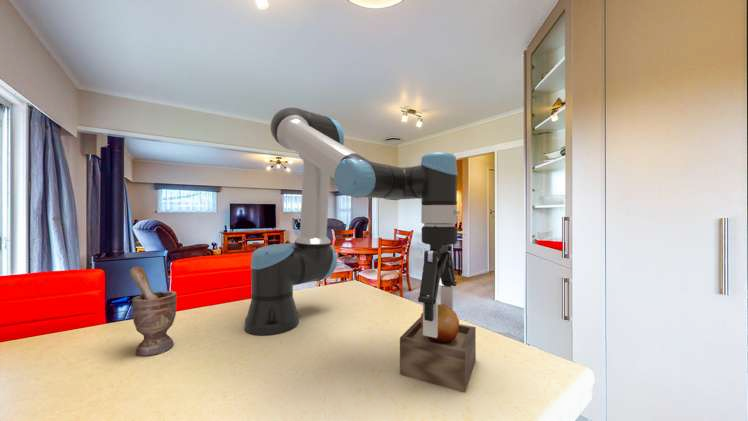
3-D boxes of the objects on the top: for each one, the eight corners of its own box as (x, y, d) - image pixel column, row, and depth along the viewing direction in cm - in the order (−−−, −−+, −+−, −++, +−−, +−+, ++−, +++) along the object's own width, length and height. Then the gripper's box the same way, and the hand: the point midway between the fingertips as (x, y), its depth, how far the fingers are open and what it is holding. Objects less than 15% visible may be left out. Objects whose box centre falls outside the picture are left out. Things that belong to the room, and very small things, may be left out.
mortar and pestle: (108, 359, 66) (108, 270, 66) (136, 342, 74) (137, 264, 74) (161, 357, 66) (162, 270, 67) (183, 340, 75) (184, 263, 75)
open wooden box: (399, 374, 59) (399, 337, 59) (420, 348, 71) (419, 317, 71) (465, 392, 53) (465, 351, 53) (475, 360, 65) (475, 326, 65)
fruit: (453, 322, 68) (456, 298, 64) (459, 354, 61) (463, 329, 57) (418, 321, 68) (419, 297, 64) (420, 352, 62) (421, 327, 58)
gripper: (441, 228, 50) (442, 352, 49) (467, 223, 72) (467, 309, 72) (401, 227, 53) (401, 343, 53) (437, 223, 75) (437, 305, 75)
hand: (439, 324), depth 62 cm, fingers open, 13 cm apart
